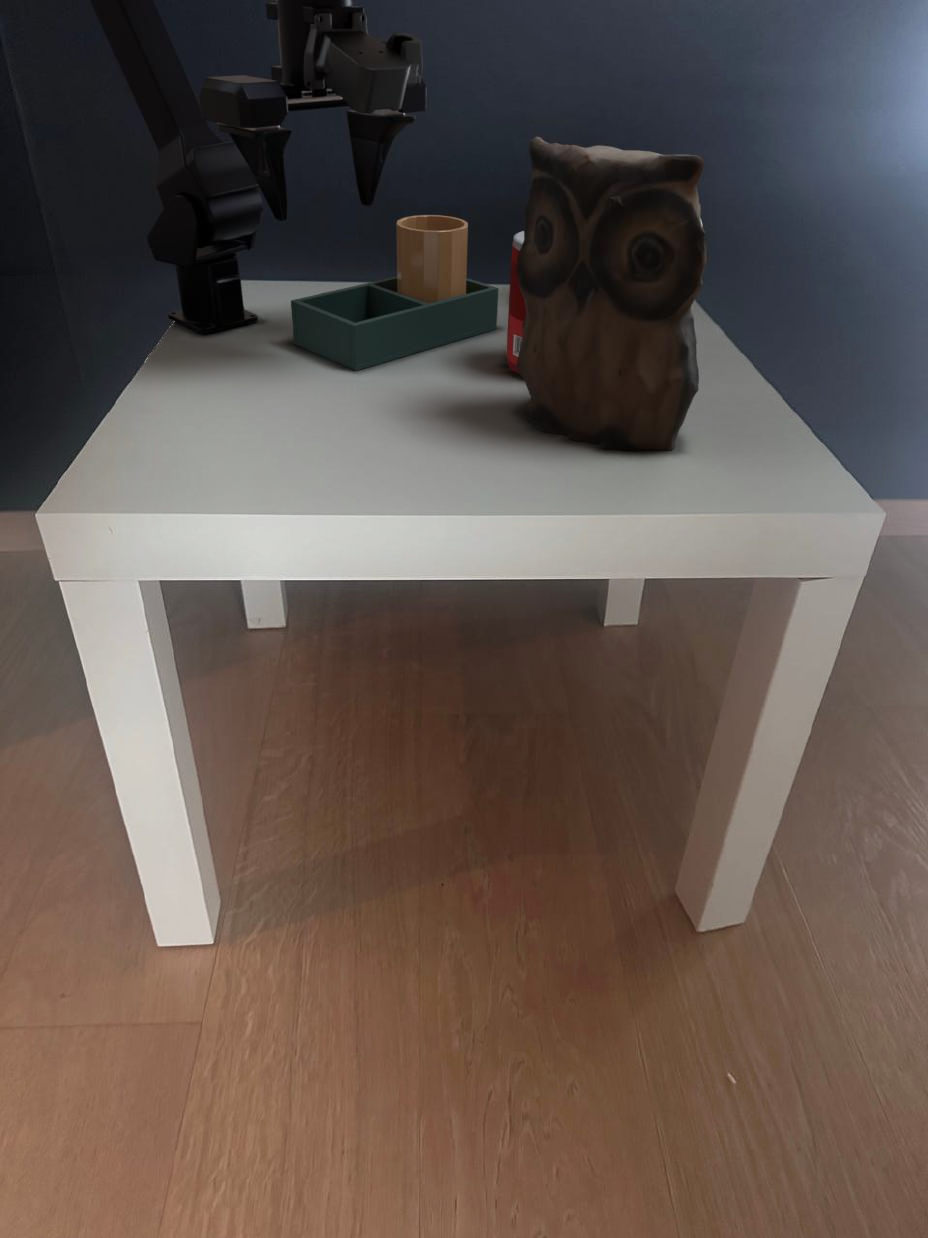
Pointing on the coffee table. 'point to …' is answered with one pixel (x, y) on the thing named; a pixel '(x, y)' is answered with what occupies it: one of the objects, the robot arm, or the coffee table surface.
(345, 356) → the divided storage box
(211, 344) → the coffee table surface
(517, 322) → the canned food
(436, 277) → the bamboo cup
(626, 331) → the owl
